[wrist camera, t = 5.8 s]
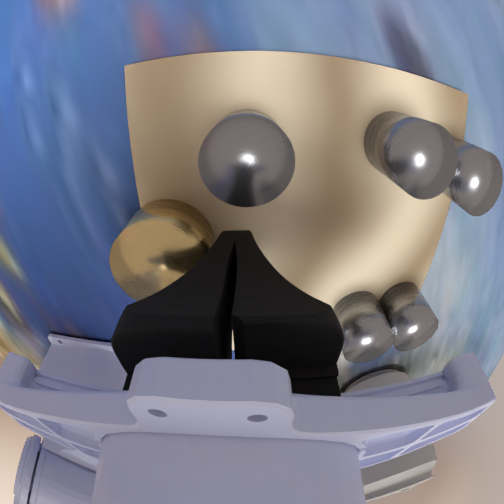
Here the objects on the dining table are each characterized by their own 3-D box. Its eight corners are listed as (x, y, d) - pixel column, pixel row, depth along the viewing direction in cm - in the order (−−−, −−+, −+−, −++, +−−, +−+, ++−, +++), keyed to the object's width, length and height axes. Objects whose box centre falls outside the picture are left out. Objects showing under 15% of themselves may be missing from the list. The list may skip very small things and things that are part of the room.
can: (381, 357, 20) (419, 485, 10) (418, 371, 23) (452, 470, 13) (321, 397, 24) (338, 510, 14) (366, 406, 26) (386, 497, 16)
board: (178, 341, 18) (176, 348, 18) (129, 66, 9) (124, 65, 9) (395, 331, 18) (397, 337, 18) (461, 93, 9) (468, 94, 9)
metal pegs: (225, 330, 17) (222, 370, 14) (208, 99, 10) (194, 102, 7) (412, 318, 17) (428, 350, 14) (470, 132, 10) (509, 148, 7)
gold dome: (139, 276, 14) (125, 308, 12) (120, 202, 12) (97, 227, 10) (218, 276, 14) (213, 311, 12) (211, 196, 12) (203, 222, 10)
